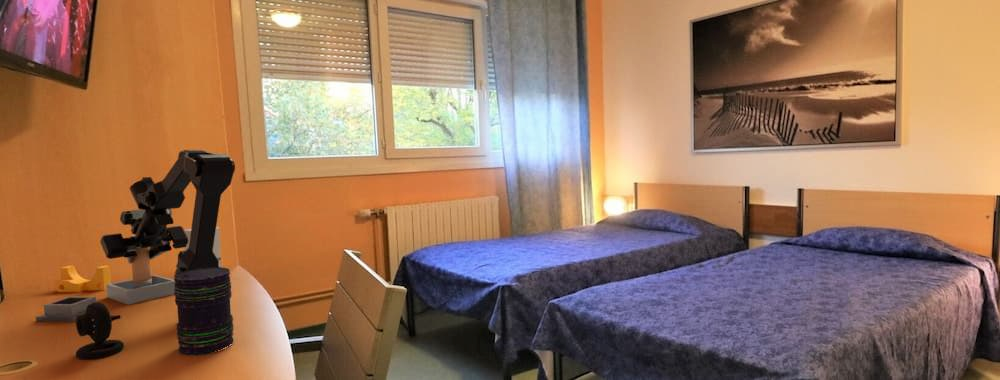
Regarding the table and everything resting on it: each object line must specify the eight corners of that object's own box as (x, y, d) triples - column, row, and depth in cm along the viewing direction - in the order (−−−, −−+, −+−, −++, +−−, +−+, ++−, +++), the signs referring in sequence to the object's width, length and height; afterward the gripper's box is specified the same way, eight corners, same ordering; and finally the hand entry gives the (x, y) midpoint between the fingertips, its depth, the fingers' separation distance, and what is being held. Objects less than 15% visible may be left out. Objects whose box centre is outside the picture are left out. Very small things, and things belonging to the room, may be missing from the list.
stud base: (104, 309, 130) (103, 295, 130) (72, 321, 121) (71, 307, 121) (70, 308, 131) (69, 295, 130) (36, 321, 122) (34, 306, 121)
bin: (177, 293, 144) (176, 280, 144) (127, 304, 134) (126, 291, 134) (156, 286, 151) (155, 274, 150) (107, 297, 141) (106, 284, 140)
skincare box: (201, 280, 158) (198, 230, 157) (185, 278, 160) (182, 230, 158) (223, 273, 166) (220, 226, 165) (207, 272, 168) (204, 225, 166)
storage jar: (227, 333, 113) (223, 264, 112) (240, 346, 106) (236, 273, 104) (173, 345, 107) (168, 272, 105) (183, 360, 99) (178, 282, 98)
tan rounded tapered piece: (155, 286, 143) (151, 235, 141) (136, 290, 139) (132, 237, 138) (148, 284, 145) (144, 233, 144) (129, 287, 142) (125, 236, 140)
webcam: (69, 354, 102) (65, 304, 102) (114, 342, 109) (110, 294, 108) (84, 363, 98) (80, 311, 97) (130, 350, 104) (127, 300, 103)
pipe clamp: (56, 292, 146) (55, 269, 146) (69, 288, 150) (68, 265, 150) (99, 292, 146) (98, 269, 145) (111, 288, 150) (109, 265, 150)
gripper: (180, 196, 145) (165, 232, 153) (100, 203, 130) (86, 243, 137) (196, 227, 141) (179, 263, 149) (115, 238, 126) (101, 277, 134)
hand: (138, 260), depth 142 cm, fingers closed on tan rounded tapered piece, 4 cm apart
